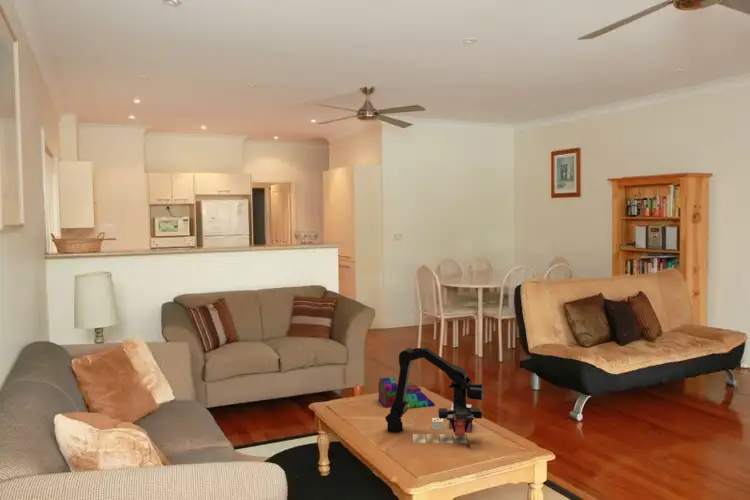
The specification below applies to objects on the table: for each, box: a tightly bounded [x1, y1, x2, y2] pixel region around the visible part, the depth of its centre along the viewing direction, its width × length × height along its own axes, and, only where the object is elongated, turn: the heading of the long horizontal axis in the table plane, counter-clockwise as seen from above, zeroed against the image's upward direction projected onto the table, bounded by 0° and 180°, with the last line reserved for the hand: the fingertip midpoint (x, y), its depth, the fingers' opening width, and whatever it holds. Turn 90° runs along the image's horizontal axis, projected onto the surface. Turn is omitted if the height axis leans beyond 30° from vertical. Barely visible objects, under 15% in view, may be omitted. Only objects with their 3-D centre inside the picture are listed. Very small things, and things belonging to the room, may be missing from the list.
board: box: [412, 433, 470, 448], centre depth 278 cm, size 25×12×1 cm, turn 88°
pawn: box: [454, 419, 466, 437], centre depth 277 cm, size 4×4×7 cm
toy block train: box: [378, 376, 436, 410], centre depth 329 cm, size 25×17×14 cm
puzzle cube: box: [448, 403, 473, 433], centre depth 293 cm, size 10×10×10 cm
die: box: [431, 417, 445, 431], centre depth 291 cm, size 5×5×5 cm
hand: (459, 432), depth 277 cm, fingers closed on pawn, 4 cm apart
